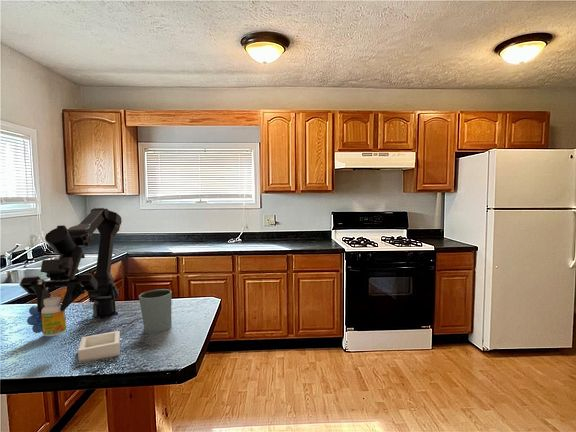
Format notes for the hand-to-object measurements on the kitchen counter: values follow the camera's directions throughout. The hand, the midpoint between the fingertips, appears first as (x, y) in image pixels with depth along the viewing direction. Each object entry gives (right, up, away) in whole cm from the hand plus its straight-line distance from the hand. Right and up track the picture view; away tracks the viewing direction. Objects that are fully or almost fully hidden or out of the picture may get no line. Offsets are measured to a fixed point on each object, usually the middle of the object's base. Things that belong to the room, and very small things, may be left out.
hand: (50, 311), depth 93 cm
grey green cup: (+22, -12, +20) cm, 32 cm away
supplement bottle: (0, -7, +2) cm, 7 cm away
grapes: (-12, -13, +17) cm, 24 cm away
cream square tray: (+12, -13, +4) cm, 18 cm away
